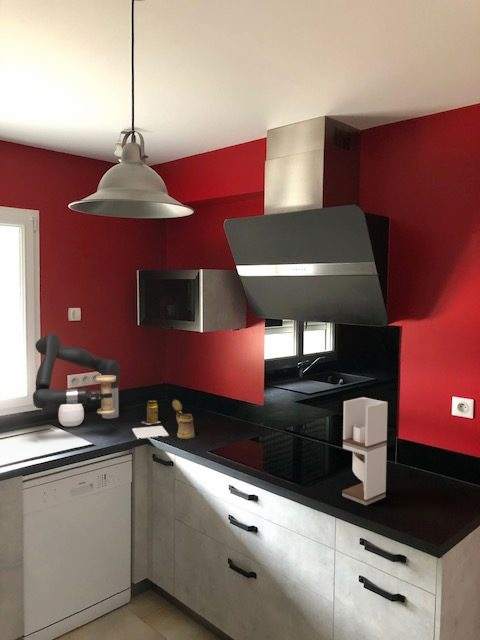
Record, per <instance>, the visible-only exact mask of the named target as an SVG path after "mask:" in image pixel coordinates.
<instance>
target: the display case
mask: <svg viewBox="0 0 480 640" xmlns="http://www.w3.org/2000/svg"><path fill="white" fill-rule="evenodd" d="M342 414H343V420H342V422H343V423H342V425H343V426H342V429H343V430H342V449H344V450H347V451H351V452H352V472H353V474H354V475H355V476H356V477H357V479H359V480H360V481H361V482H360V483H359V484H356V485H352V486H350V487H348V488H345V489H343V490H342V491H341V492H342V493H341V495H342V497H344V498H346V499H349V500H352V501H354V502H357V503H359V504H361V505H364V506H368V505H370V504H373V503H376V502H377V501H379V500H382V499H384V498H386V495H387V494H386V492H387V491H386V490H387V488H386V487H387V485H386V484H387V450H388V449H387V446H388V442H387V441H388V401H383V400H380V399H379V400H377V399H373V398H369V397H365V396H362V397H357V398H353V399H349V400H344V401H343V413H342Z"/></svg>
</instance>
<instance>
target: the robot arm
mask: <svg viewBox="0 0 480 640" xmlns="http://www.w3.org/2000/svg"><path fill="white" fill-rule="evenodd" d="M35 349H36V351H37V352H38V353H39V354H40V355H43V356H44V357H43V359H42V362H41V363H40V365H39V367H38V369H37V373H36V378H35V391H34V392H33V394H32V404H33V406H34V407H35V408H37V409H44V408H45V407H47V406H48V404H49V403H54V405H56V406H57V405H59V406H60V405H63V404H82V405H83V404H87V403H88V401H87V400H90V401H91V402H94V401H99V400H100V401H101V400H103V399H104V398H111V408H115V413H112V414H101V416H102V418H103V419H116V418H119V412H120V411H119V408H120V407H119V383H120V375H121V374H120V373H121V368H120V364H119V362H118V361H116V360H112V359H107V358H106V359H105V358H101V357H97V356H95V355H94V354H92V353H91V352H89V351H88V350H86V349H83V348H80V347H77V346H61V340H60V338H59V336H58V335H57V334H55V333H49V334H46V335H44V336H43V337H41V338H39V339H38V340H37V341H36V342H35ZM56 359H59V360H62V361H65V362H68V363H70V364H72V365H76V366H78V367H82V368H86V369H90V370H93V371H94V372H96V373H97V372H98V373H99V374H101V375H114V376H116V381H114V382H111V393H101V389H97V390H95V389H93V390H92V389H91V390H89V391H88V392H87V388H85V387H84V388H70V389H62V390H61V389H60V390H59V389H56V390H55V389H50V388H51V383H52V376H53V370H54V366H55V362H56Z"/></svg>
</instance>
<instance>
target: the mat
mask: <svg viewBox="0 0 480 640" xmlns="http://www.w3.org/2000/svg"><path fill="white" fill-rule="evenodd" d="M131 429H132V432H133V434H134V435H135V437H137V438H136V439H137V440H140V439H139V438H141V439H149V438H151V437H152V438H159V437H158V436H162V437H168V436H170V434H169V433H168V432H167V430H166V429H165V428H164V427H163V425H156V426H144V427H143V426H142V427H134V428H131Z"/></svg>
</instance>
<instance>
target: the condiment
mask: <svg viewBox="0 0 480 640" xmlns="http://www.w3.org/2000/svg"><path fill="white" fill-rule="evenodd" d="M146 405H147V406H146V420H145V421H141V424H143V425H144V424H145V425H153V424H159V423H160V421H159V420H158V419H159V417H158V415H159V413H158V412H159V411H158V408H159V407H158V401H157V400H155V399H154V400H153V399H152V400H148V401H147V404H146Z"/></svg>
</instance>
